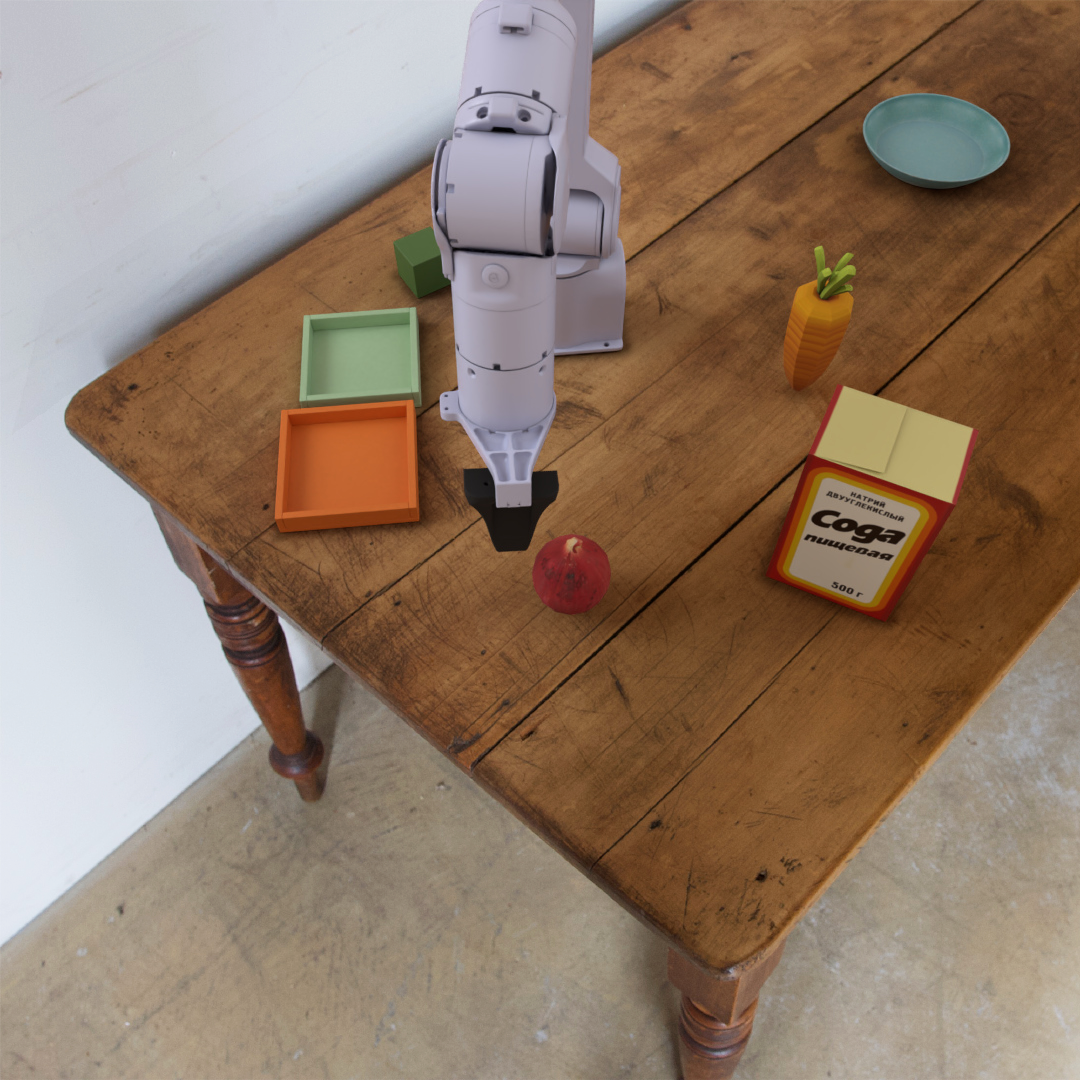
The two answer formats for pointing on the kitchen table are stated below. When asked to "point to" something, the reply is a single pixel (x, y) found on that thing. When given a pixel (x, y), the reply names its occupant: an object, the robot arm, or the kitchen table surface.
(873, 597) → the baking soda box
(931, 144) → the saucer
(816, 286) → the carrot
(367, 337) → the green tray
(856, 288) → the kitchen table surface
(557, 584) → the red pomegranate
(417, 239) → the green block
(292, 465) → the orange tray
